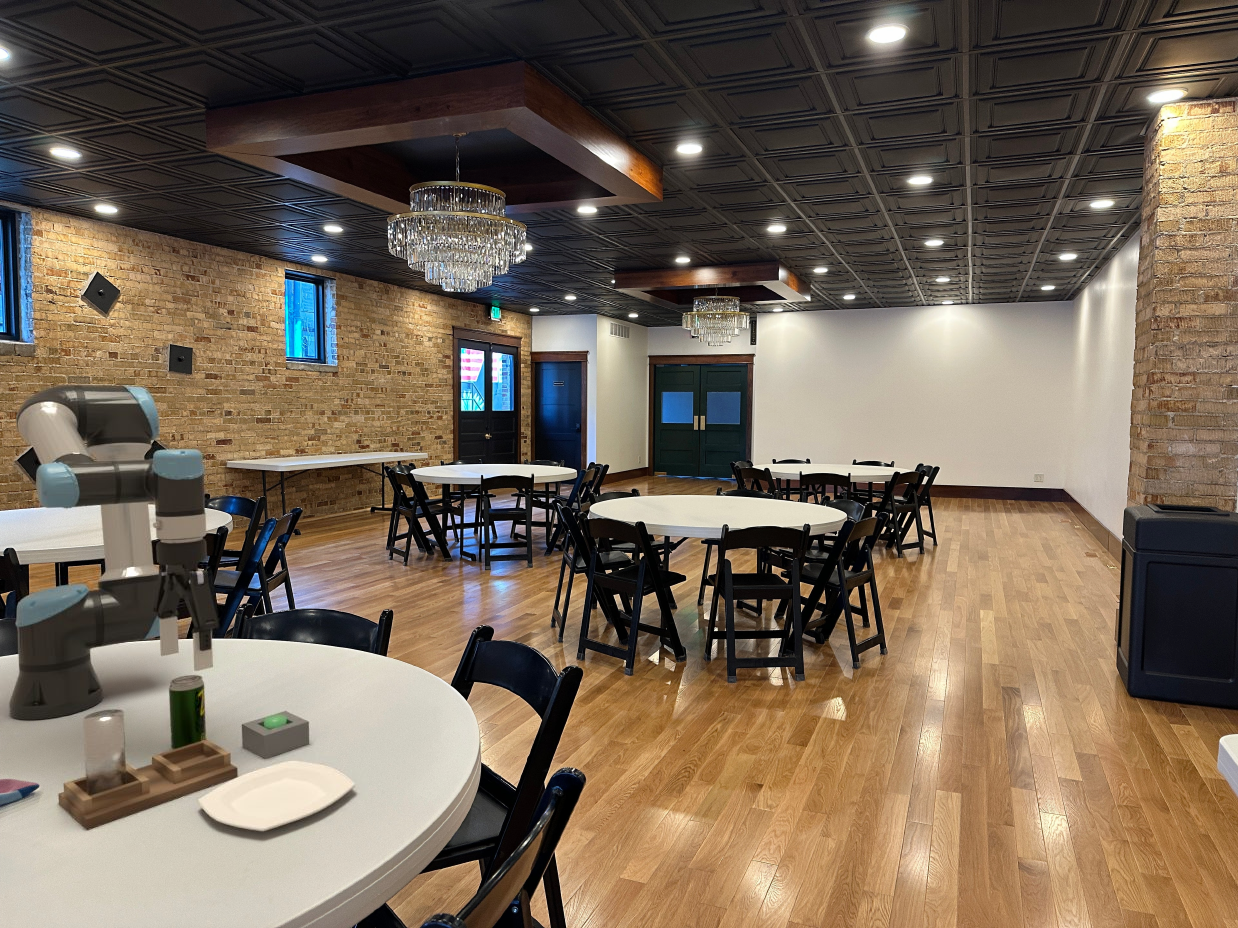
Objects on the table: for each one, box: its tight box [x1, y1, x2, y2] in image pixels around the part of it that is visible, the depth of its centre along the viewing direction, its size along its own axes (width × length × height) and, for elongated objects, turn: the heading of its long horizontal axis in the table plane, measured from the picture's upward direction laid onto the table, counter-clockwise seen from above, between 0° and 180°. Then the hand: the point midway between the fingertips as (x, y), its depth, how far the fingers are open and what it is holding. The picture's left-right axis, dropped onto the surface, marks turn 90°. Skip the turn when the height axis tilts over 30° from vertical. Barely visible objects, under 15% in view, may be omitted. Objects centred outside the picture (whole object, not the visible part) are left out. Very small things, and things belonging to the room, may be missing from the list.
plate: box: [197, 760, 357, 832], centre depth 119 cm, size 19×19×2 cm
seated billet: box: [82, 708, 127, 796], centre depth 118 cm, size 5×5×12 cm
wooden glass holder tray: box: [57, 738, 239, 831], centre depth 123 cm, size 12×21×4 cm, turn 141°
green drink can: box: [168, 674, 207, 750], centre depth 139 cm, size 5×5×12 cm
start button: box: [264, 713, 287, 730], centre depth 139 cm, size 4×4×3 cm
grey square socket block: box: [241, 710, 310, 760], centre depth 140 cm, size 8×8×4 cm
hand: (186, 661), depth 138 cm, fingers open, 13 cm apart
